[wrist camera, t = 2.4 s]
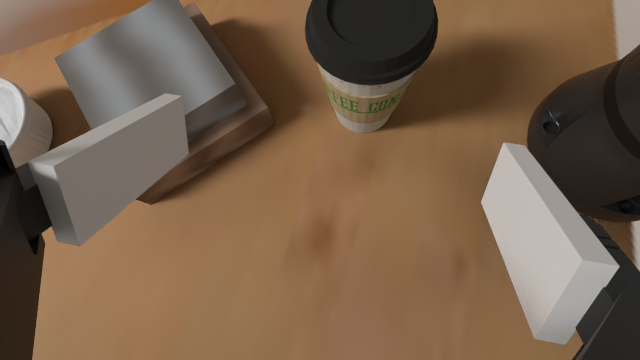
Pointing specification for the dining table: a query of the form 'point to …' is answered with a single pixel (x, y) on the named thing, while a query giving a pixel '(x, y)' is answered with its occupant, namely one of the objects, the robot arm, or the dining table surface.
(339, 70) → the coffee cup
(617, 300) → the robot arm
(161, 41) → the grey stacked platform
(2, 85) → the ramekin
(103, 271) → the dining table surface
